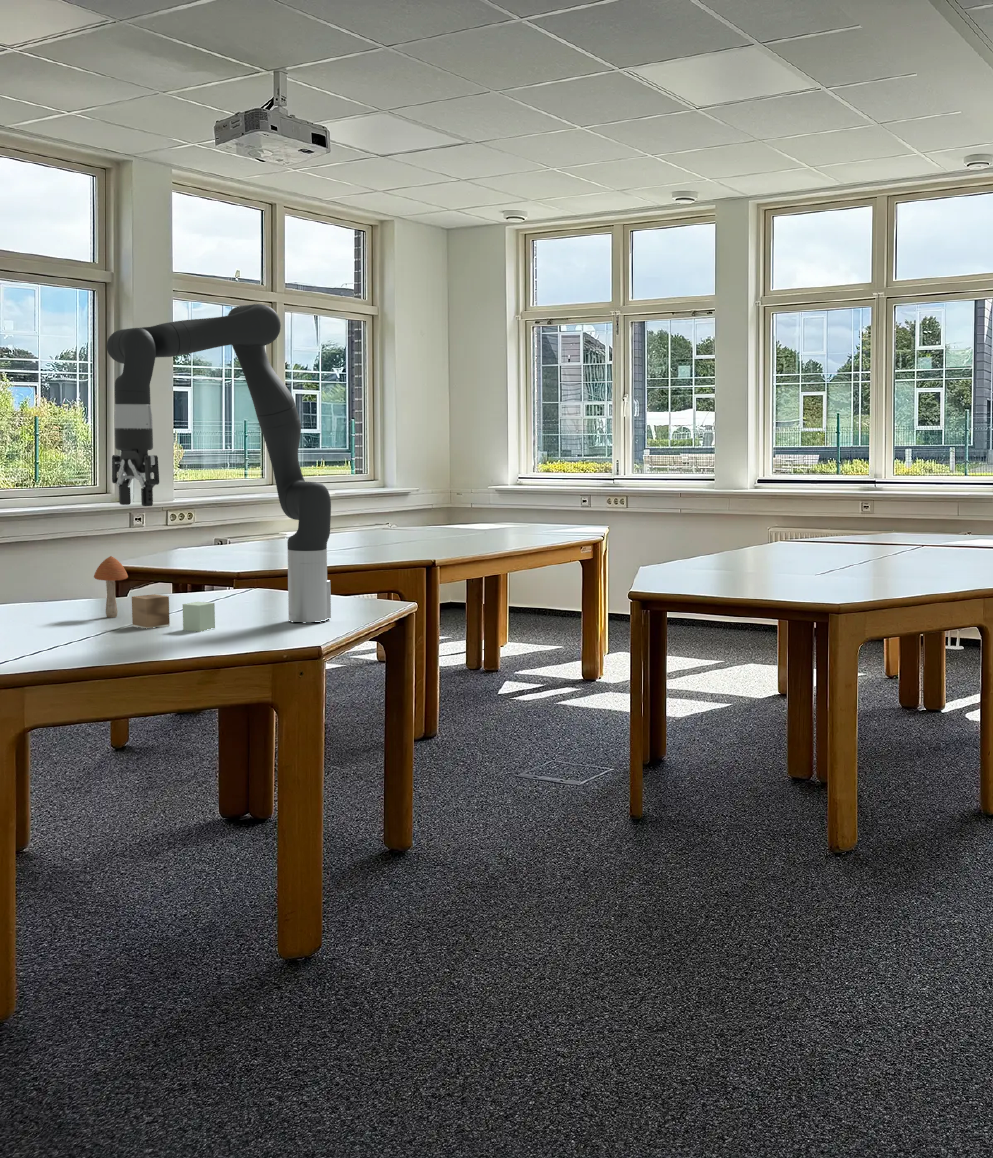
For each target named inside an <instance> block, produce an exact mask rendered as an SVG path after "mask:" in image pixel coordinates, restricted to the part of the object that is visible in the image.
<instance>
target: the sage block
mask: <svg viewBox="0 0 993 1158" xmlns="http://www.w3.org/2000/svg"><path fill="white" fill-rule="evenodd" d="M215 610H216V607H215V602H207V601H206V602H205V601H193V602H189V603H188V602H187V603H183V604H182V630H183V631H186V630H187V631H189V632H196V631H197V633H201V631H202V632H205V631H204V630H207V629H211V628H215V629H216V616H215V615H216V611H215ZM207 631H208V630H207Z"/></svg>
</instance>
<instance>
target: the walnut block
mask: <svg viewBox="0 0 993 1158" xmlns="http://www.w3.org/2000/svg"><path fill="white" fill-rule="evenodd" d="M131 614H132V615H131V618H132V621H131V622H132V624H131V625H132V627H134V628H138V627H141V628H140V629H143V628H146V629H145V630H148V629H147V628H152V629H154V628H153V627H160V628H167V626H168V627H171V626H170V625H171V623H170V622H171V621H170V597H169V596H168V595H161V594H156V593H154V594H144V595H136V596H131Z"/></svg>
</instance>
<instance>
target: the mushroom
mask: <svg viewBox="0 0 993 1158" xmlns="http://www.w3.org/2000/svg"><path fill="white" fill-rule="evenodd" d="M128 578H129V575H128V573H127V570H126V569H125V567H124V566H123V565H122V563H121V562H120V561H119V560H118V559H117V558H116V557H114V556H112V555H110V556H108V557H107V558H105V559H104V560H103V561H102V562H101V563H100V564H99V565H98V566H97V568H96V570H95V572H94V575H93V579H95V580H98V581H105V587H106V588H105V589H106V590H105V591H106V603H105V615H106V618H110V619H111V618H117V617H118V611H119V610H118V603H117V598H116V581H124V580H127V579H128Z"/></svg>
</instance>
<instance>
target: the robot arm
mask: <svg viewBox="0 0 993 1158" xmlns="http://www.w3.org/2000/svg"><path fill="white" fill-rule="evenodd" d="M281 326H282V324H281V319H280V317H279V314H278V313H277V312H276V311H275V309H274V308H272V307H270V306H268V305H266V304H261V303H258V304H257V303H254V304H247V305H239V306H238V305H237V306H236V307H233V308H232V309H231V310H230V311H229V312H228V313H227V315H224V316H217V317H207V318H193V319H192V318H191V319H184V320H182V319H181V320H177V321H170V322H165V323H164V322H163V323H159V324H156V325H152V326H143V327H142V326H141V327H132V328H123V329H118V330H116V331H114V332H113V333H112V334H111V335H110V336H109V337H108V339H107V341H106V350H107V351H106V352H107V353H108V356H109V357H110V358H112V360H113V361H115V362H117V363H120V364H122V365H123V369H122V373H121V375H119V376H117V377H116V379H115V382H114V404H115V405H114V415H113V418H114V419H113V420H114V421H113V423H114V447H115V449H116V450H117V451H120V454H112V456H111V482H112V484H115V485H116V486H117V487H118V493H119V494H118V495H119V496H118V497H119V498H118V500H119V505H121V506H126V505H127V506H128V505H131V497H132V496H131V487H130V485H131V482H132V481H133V479H136V480H138V482H139V485H140V487H141V488H140V495H141V497H140V498H141V499H140V500H141V506H142V507H152V506H153V504H154V492H153V490H154V489H153V488H155V486H157V485H158V486H159V484H160V471H159V457H158V455H155V454H153V455H152V454H150V455H149V452H148V451H152V450H153V449H154V432H153V413H152V406H151V404H152V403H151V381H152V376H153V372H154V366H155V361H156V358H171V357H177V356H183V355H188V354H193V353H197V352H202V351H206V350H210V349H215V348H220V347H226V346H231V347H232V348H233V351H234V354H235V355H236V358H237V360H238V363H239V365H240V368H241V370H242V373H243V376H244V378H245V382H246V386H247V388H248V391H249V394H250V397H251V401H252V404H253V407H254V411H255V415H256V418H257V421H258V425H259V427H260V430H261V434H262V437H263V440H264V443H265V446H266V450H267V453H268V457H269V460H270V464H271V467H272V471H273V476H274V482H275V487H276V490H277V491H276V492H277V497H278V501H279V504H280V508H281V509H282V512H283V514H285V516H287V517H288V518H290V519H291V520H294V521H296V520H297V521H298V527H297V530H296V532H295V533H294V534H292V535H291V536H289V537H288V538H287V542H286V543H287V593H288V594H287V595H288V596H287V597H288V598H287V601H288V602H287V603H288V604H287V605H288V608H287V609H288V621H289V620H290V621H293V622H315V621H321V620H325V619H327V618H331V619H332V603H331V602H332V599H331V598H332V594H331V589H332V587H331V580H330V579H328V551H327V548H328V547H327V545H328V541H329V538H330V535H331V523H332V522H331V520H332V519H331V516H332V502H331V501H332V500H331V495H330V492H329V490H328V488H327V487H326V486H325V485H324V484H323V483H321V482H316V481H306V479H305V478H304V476H303V473H302V468H301V466H300V461H299V446H300V443H301V442H300V441H301V434H302V424H301V419H300V416H299V411H298V409H297V406H296V402H295V398H294V397H293V395H292V393H291V391H290V389H289V388H288V387H287V386H286V384H285V382H283V380H282V379H281V378H280V376H279V375H278V374H277V372H276V371H275V370H274V368H273V366H272V364H271V363H270V361H269V358H268V356H267V352H266V349H265V346H267V345H269V344H271V343H273V342H274V341H275V340H277V338H278V337H279V335H280V333H281V329H282V328H281ZM293 622H292V623H293Z"/></svg>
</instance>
